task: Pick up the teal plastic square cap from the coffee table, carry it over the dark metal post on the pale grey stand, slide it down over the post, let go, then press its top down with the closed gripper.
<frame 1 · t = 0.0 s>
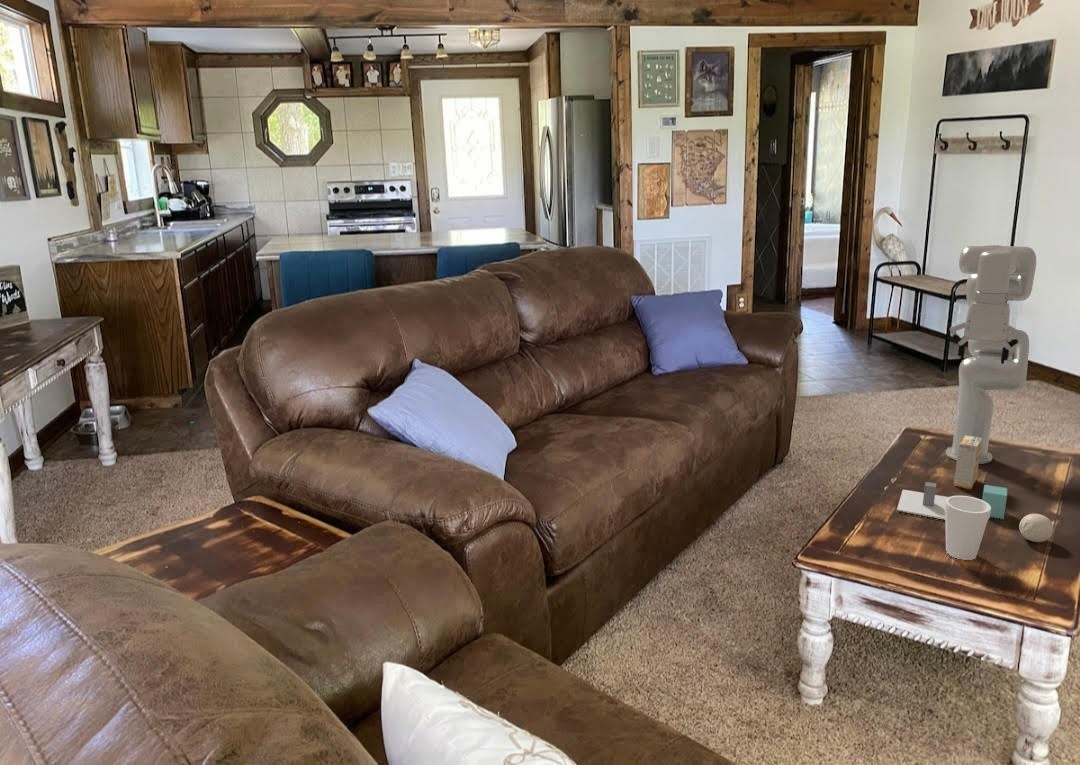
hand: (981, 360, 213), 37 cm above the table, tool pointing down, fingers open, 9 cm apart
supplement box: (965, 483, 225), on the table
foam cup: (960, 554, 187), on the table
off-white rounded piece: (1033, 541, 192), on the table
cap: (992, 513, 207), on the table
post stand: (927, 506, 211), on the table
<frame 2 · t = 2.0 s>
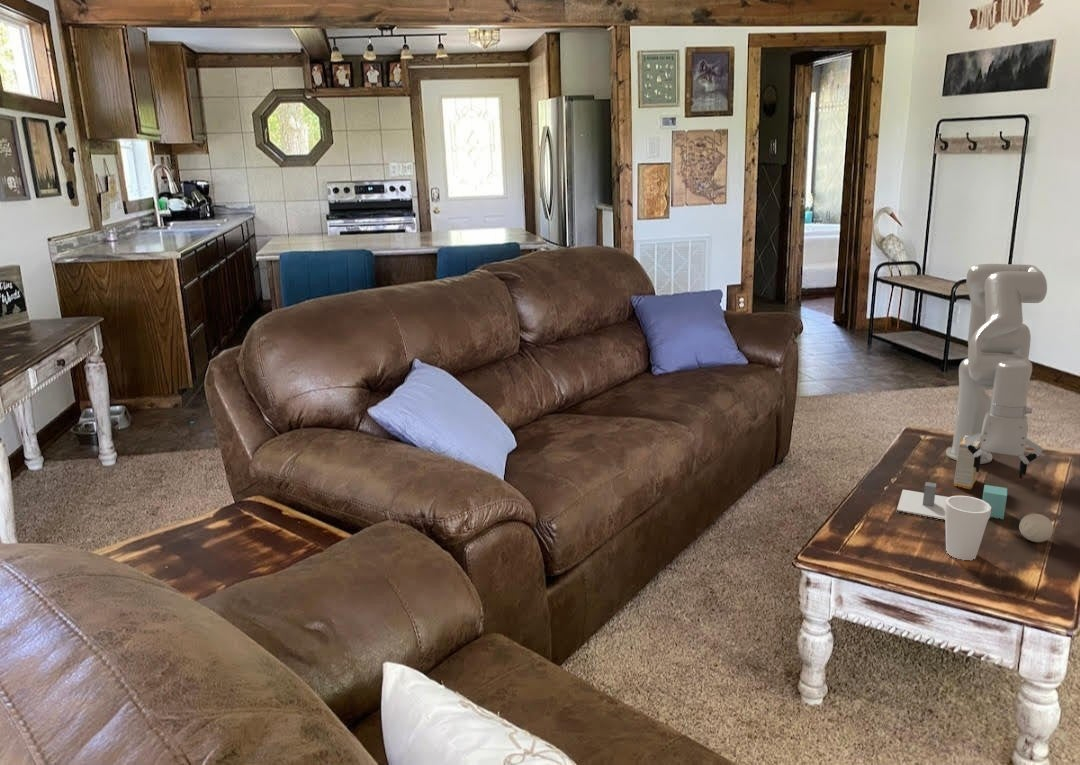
hand: (998, 473, 203), 12 cm above the table, tool pointing down, fingers open, 9 cm apart
nothing on the table moved.
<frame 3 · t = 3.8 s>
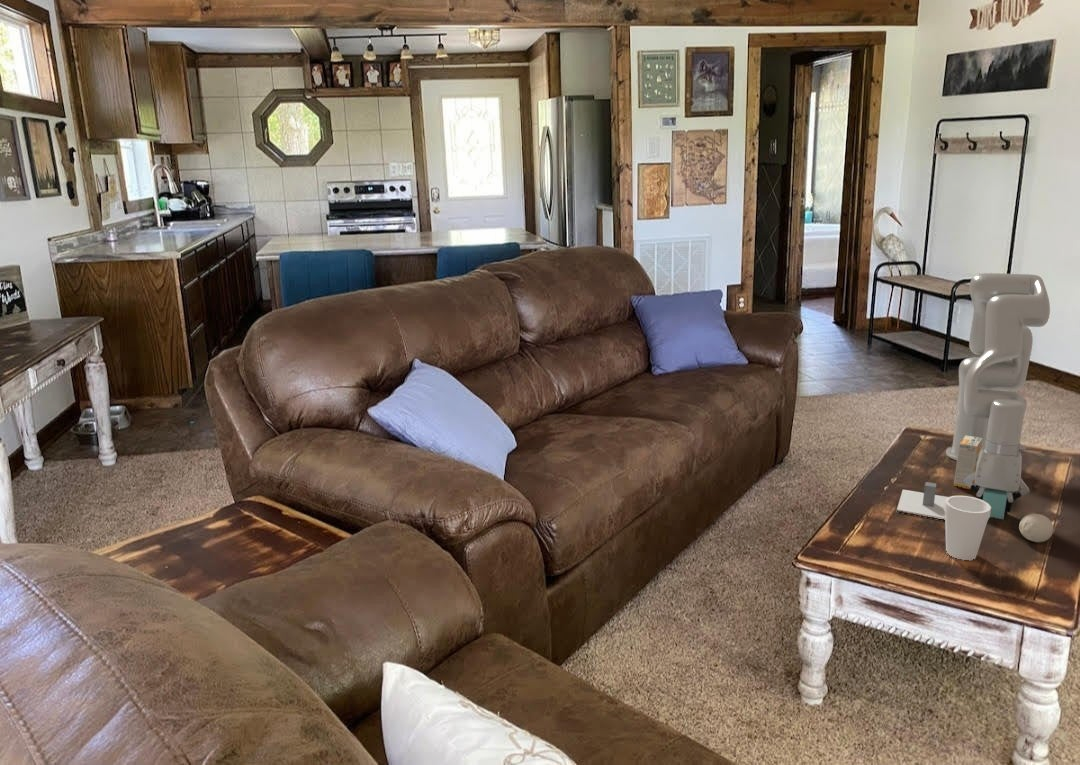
hand: (992, 511, 206), 1 cm above the table, tool pointing down, fingers closed on cap, 5 cm apart
cap: (992, 513, 207), on the table, touching gripper
everything else where it was.
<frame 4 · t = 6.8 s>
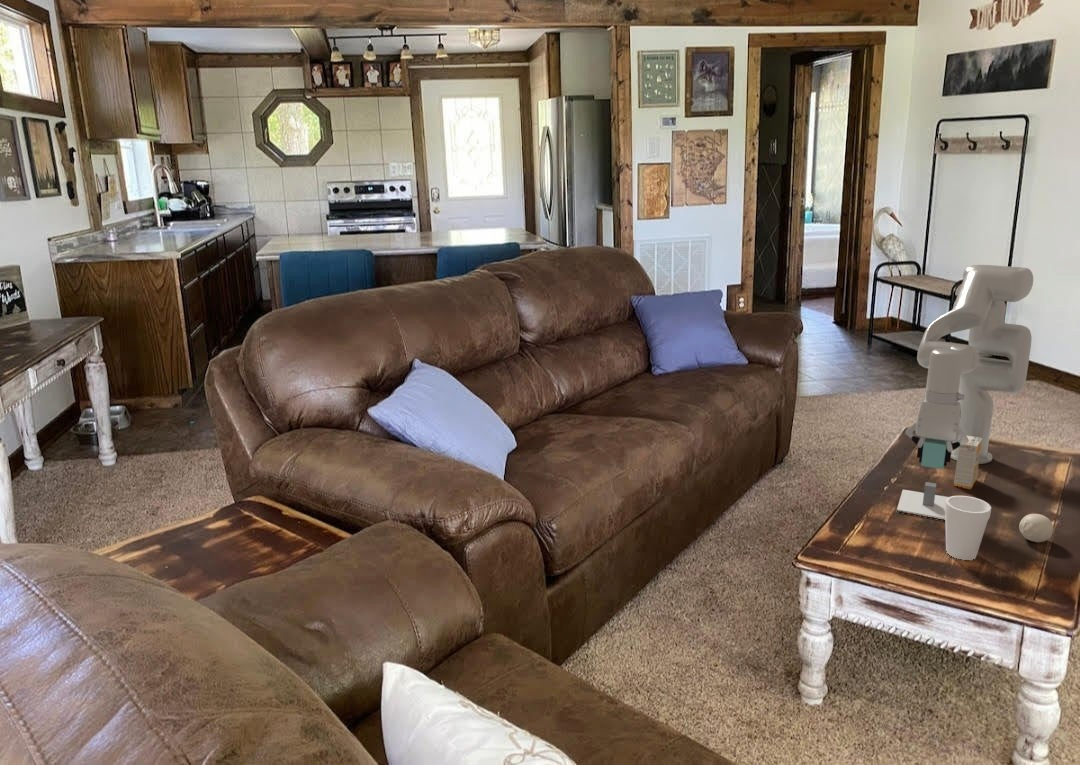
hand: (933, 461, 207), 13 cm above the table, tool pointing down, fingers closed on cap, 5 cm apart
cap: (932, 464, 207), point 12 cm above the table, touching gripper
everything else where it was.
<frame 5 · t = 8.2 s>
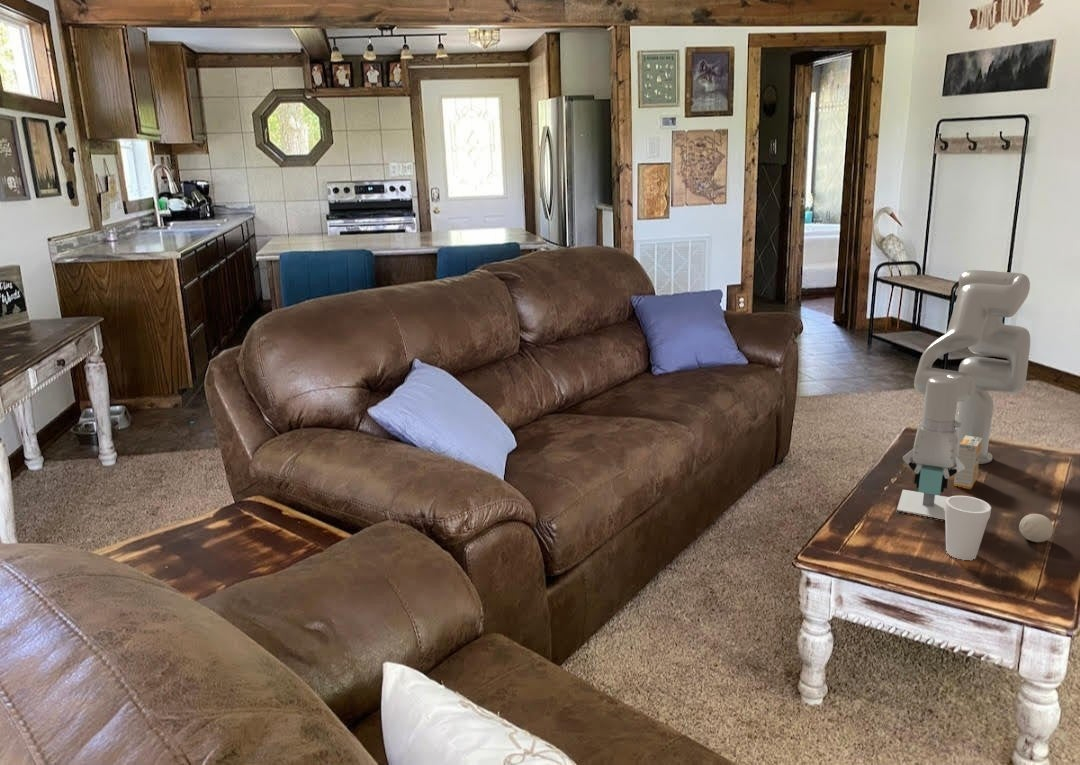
hand: (930, 487, 210), 6 cm above the table, tool pointing down, fingers closed on cap, 5 cm apart
cap: (929, 490, 210), point 5 cm above the table, touching gripper
everything else where it was.
when the fingers open (2 cm above the table, at t = 9.7 s): cap stays where it is, resting on post stand.
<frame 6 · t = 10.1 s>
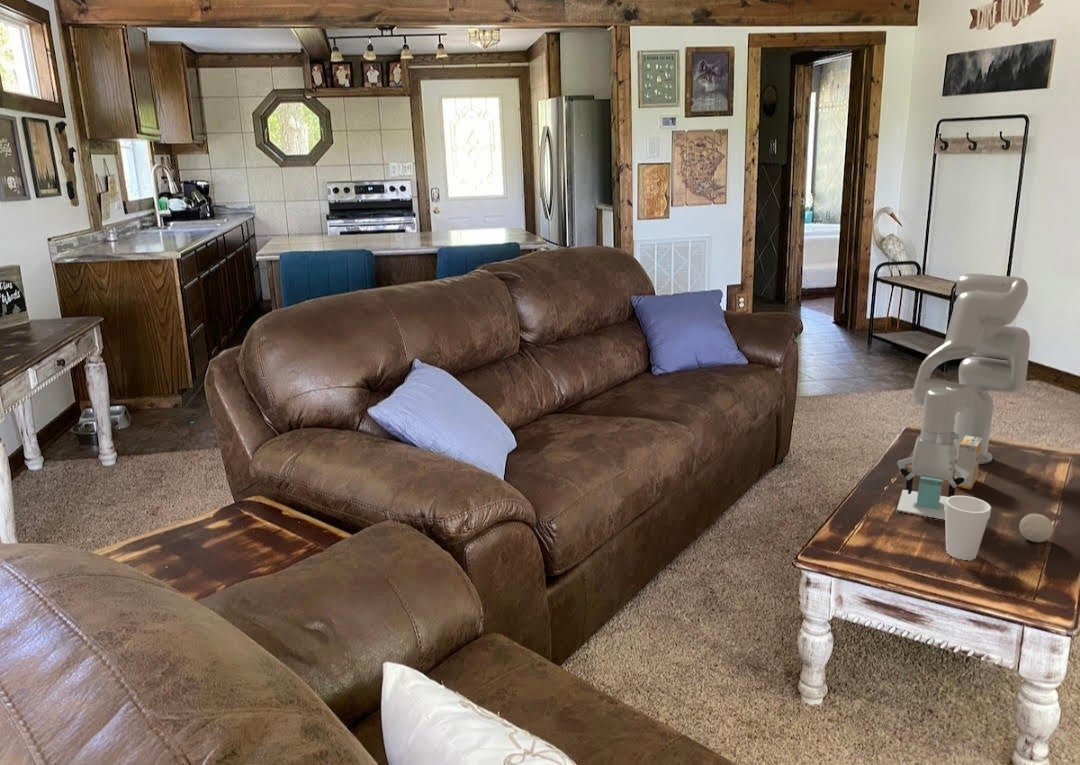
hand: (929, 495, 210), 3 cm above the table, tool pointing down, fingers open, 9 cm apart
cap: (928, 504, 211), point 1 cm above the table, touching post stand
everything else where it was.
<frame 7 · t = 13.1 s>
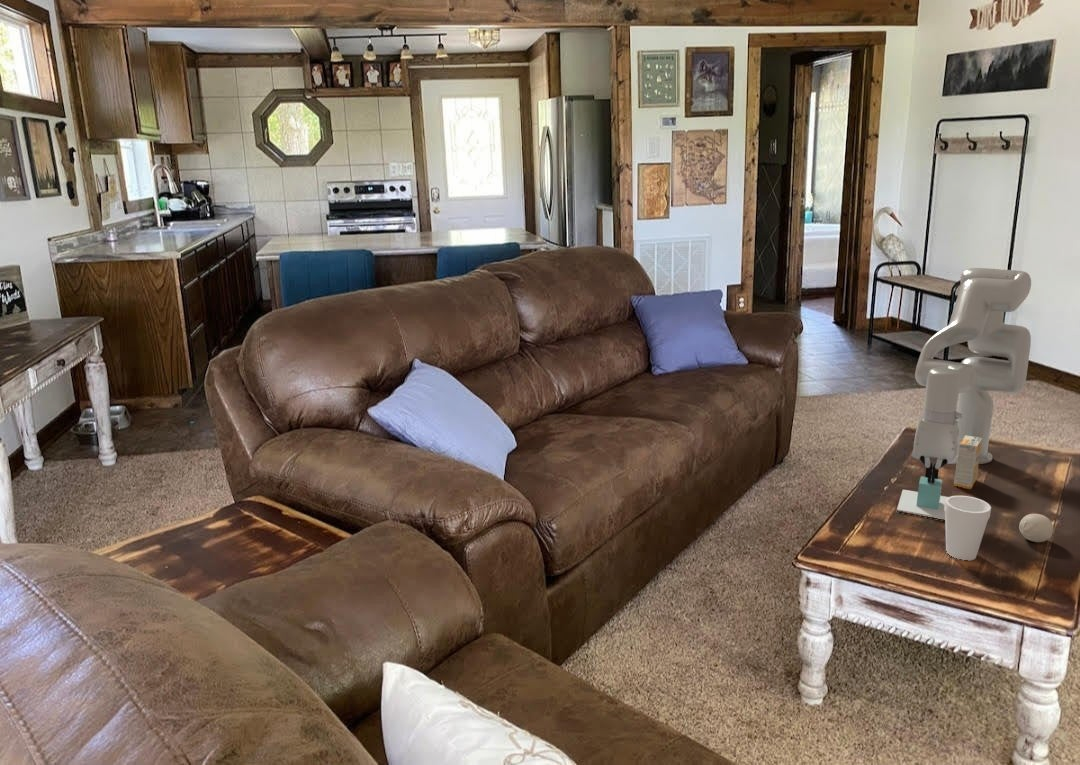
hand: (931, 480, 209), 8 cm above the table, tool pointing down, fingers closed
nothing on the table moved.
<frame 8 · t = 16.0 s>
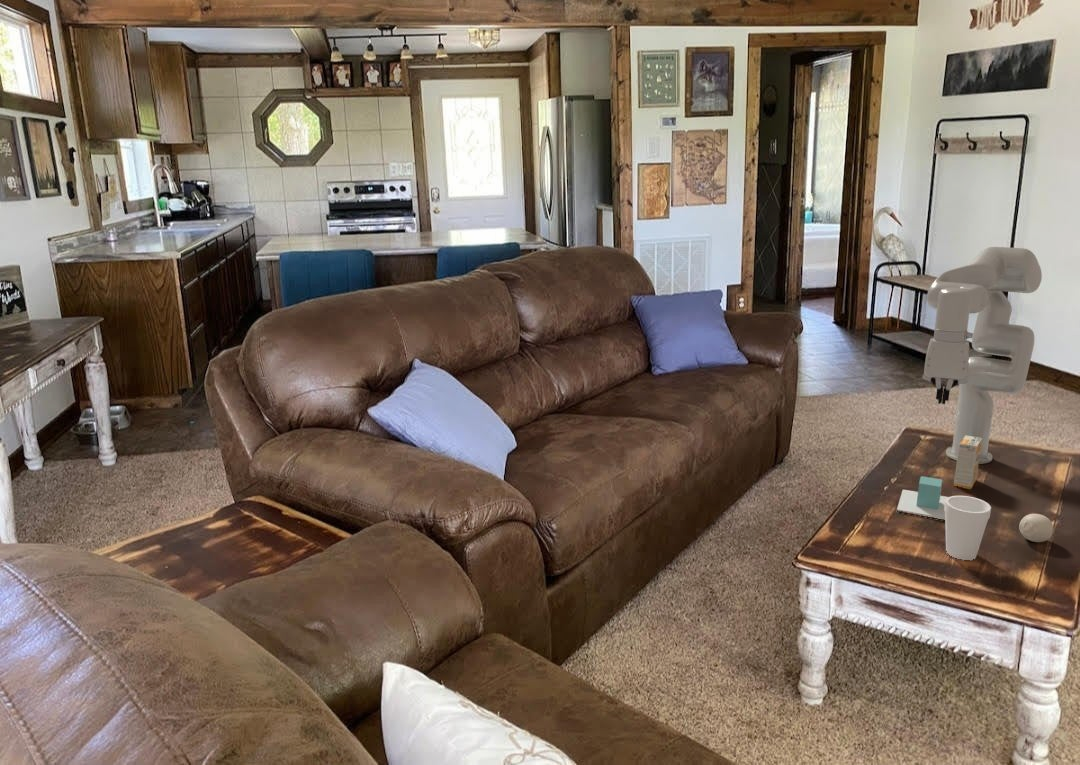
hand: (941, 402, 210), 27 cm above the table, tool pointing down, fingers closed
nothing on the table moved.
at the end: cap 0.1 cm from the post stand (horizontally); cap point 0.8 cm above the table; the gripper is holding nothing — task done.
